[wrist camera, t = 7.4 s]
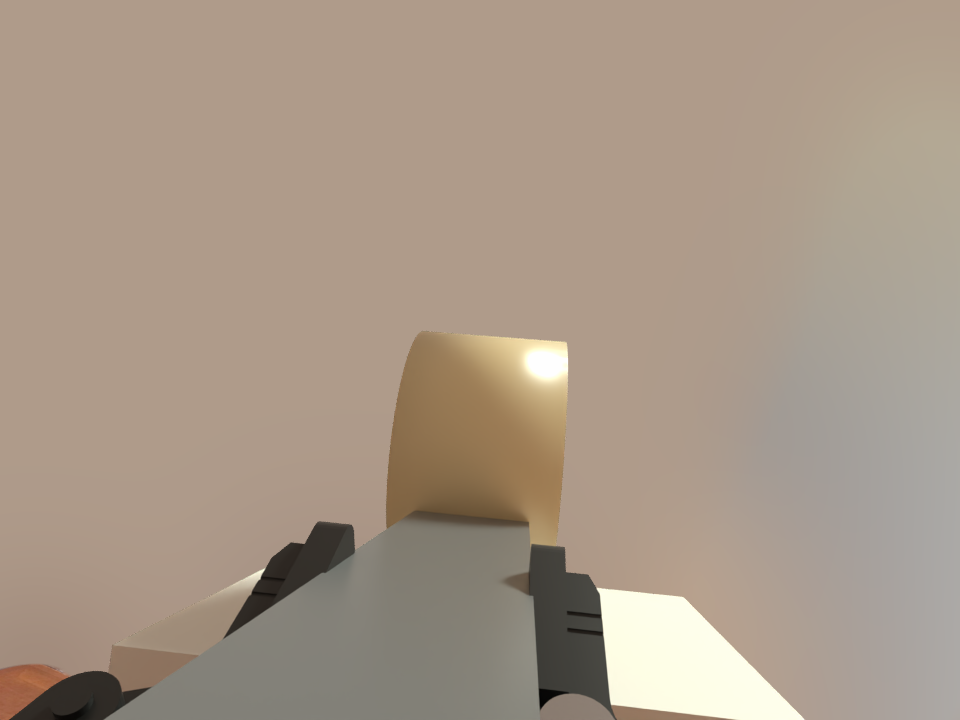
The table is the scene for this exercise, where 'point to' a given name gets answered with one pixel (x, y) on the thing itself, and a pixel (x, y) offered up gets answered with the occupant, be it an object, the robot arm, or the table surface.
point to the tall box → (628, 646)
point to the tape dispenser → (416, 563)
